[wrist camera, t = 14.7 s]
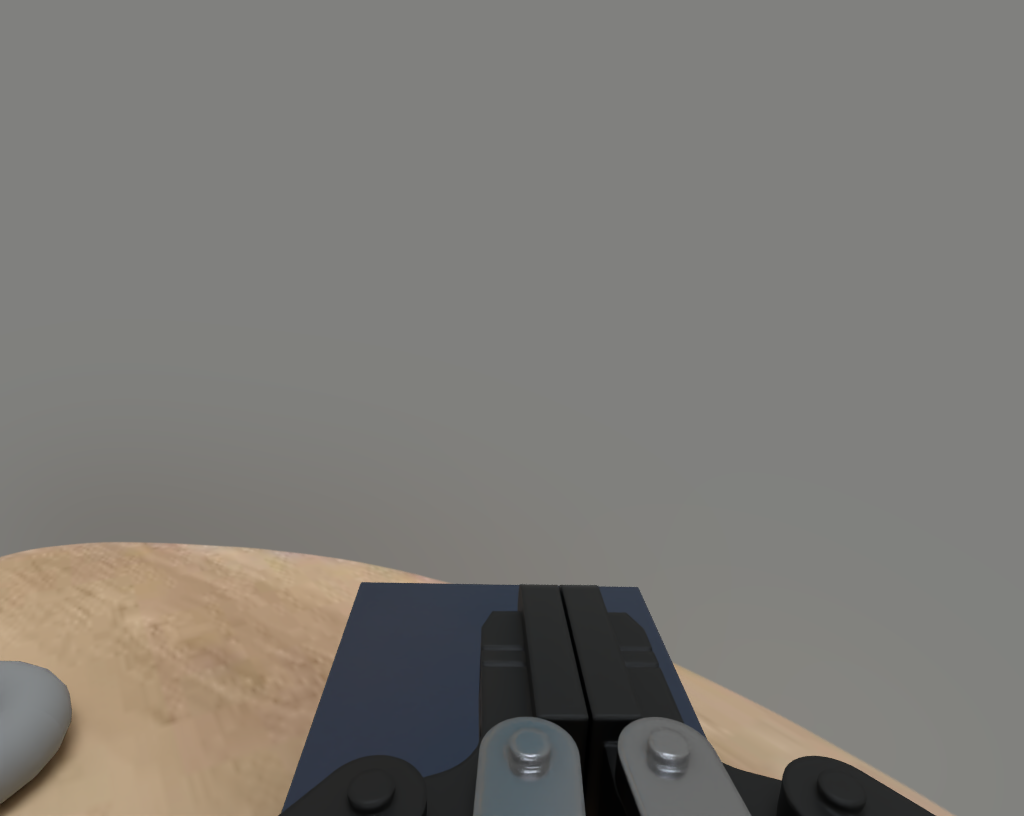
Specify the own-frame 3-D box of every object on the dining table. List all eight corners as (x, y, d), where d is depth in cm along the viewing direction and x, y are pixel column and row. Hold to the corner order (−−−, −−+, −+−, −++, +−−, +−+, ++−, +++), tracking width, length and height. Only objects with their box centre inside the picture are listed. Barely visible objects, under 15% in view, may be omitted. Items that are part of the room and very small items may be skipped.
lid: (360, 596, 31) (360, 581, 31) (637, 600, 32) (638, 586, 32) (237, 968, 15) (235, 943, 15) (791, 959, 16) (797, 935, 16)
